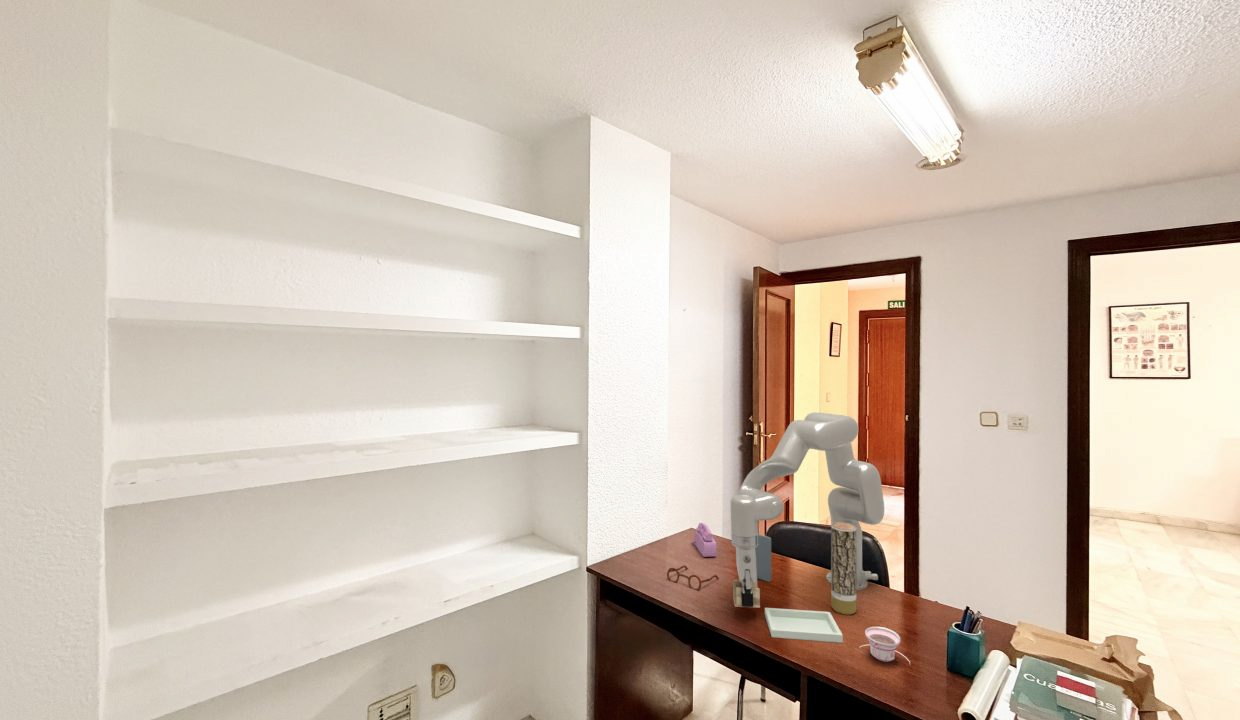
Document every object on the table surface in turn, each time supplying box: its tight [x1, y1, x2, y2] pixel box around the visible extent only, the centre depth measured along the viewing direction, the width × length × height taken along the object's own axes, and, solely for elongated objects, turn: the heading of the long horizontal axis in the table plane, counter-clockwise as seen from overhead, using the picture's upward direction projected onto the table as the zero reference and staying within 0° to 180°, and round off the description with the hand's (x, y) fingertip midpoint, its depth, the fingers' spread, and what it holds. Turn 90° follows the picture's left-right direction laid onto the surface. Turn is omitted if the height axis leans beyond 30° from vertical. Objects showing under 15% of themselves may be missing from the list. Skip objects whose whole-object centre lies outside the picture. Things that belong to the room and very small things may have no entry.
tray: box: [764, 607, 844, 644], centre depth 136 cm, size 18×12×2 cm, turn 82°
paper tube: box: [830, 522, 857, 616], centre depth 147 cm, size 7×7×25 cm
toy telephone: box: [690, 522, 718, 558], centre depth 194 cm, size 18×6×10 cm, turn 6°
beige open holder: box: [732, 579, 761, 608], centre depth 144 cm, size 7×5×5 cm
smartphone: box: [755, 533, 772, 583], centre depth 168 cm, size 8×1×15 cm, turn 47°
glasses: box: [666, 565, 720, 591], centre depth 167 cm, size 13×13×5 cm
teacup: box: [860, 626, 911, 664], centre depth 123 cm, size 12×12×6 cm
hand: (746, 600), depth 144 cm, fingers closed on beige open holder, 5 cm apart
